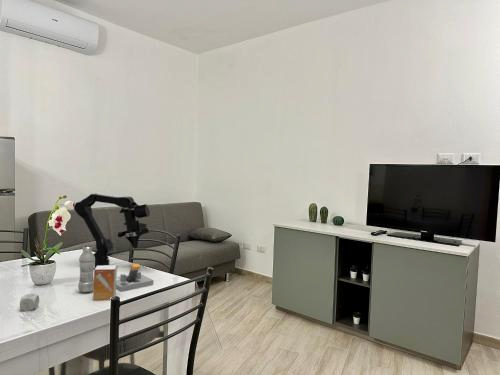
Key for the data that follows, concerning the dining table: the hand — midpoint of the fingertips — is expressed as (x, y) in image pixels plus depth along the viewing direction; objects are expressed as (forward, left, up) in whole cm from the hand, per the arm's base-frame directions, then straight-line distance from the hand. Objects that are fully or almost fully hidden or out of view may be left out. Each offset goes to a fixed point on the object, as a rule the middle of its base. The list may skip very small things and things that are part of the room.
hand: (136, 248), depth 186 cm
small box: (-4, -41, -12) cm, 43 cm away
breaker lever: (+3, -23, -10) cm, 25 cm away
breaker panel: (+3, -23, -12) cm, 26 cm away
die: (-28, -53, -12) cm, 61 cm away
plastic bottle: (-14, -34, -12) cm, 38 cm away
